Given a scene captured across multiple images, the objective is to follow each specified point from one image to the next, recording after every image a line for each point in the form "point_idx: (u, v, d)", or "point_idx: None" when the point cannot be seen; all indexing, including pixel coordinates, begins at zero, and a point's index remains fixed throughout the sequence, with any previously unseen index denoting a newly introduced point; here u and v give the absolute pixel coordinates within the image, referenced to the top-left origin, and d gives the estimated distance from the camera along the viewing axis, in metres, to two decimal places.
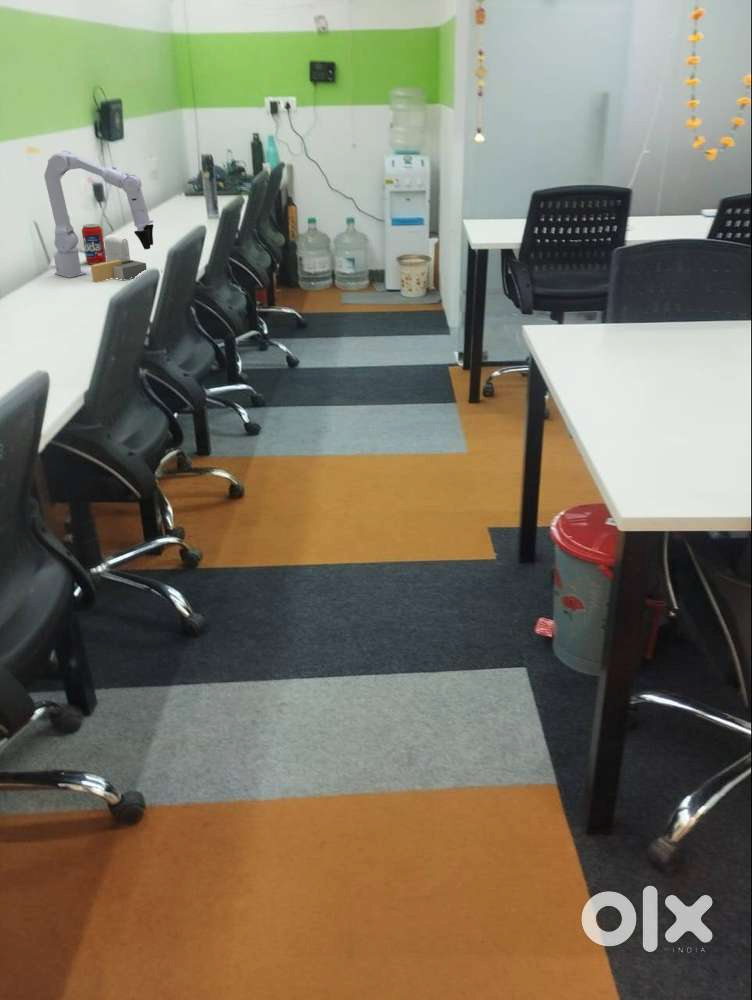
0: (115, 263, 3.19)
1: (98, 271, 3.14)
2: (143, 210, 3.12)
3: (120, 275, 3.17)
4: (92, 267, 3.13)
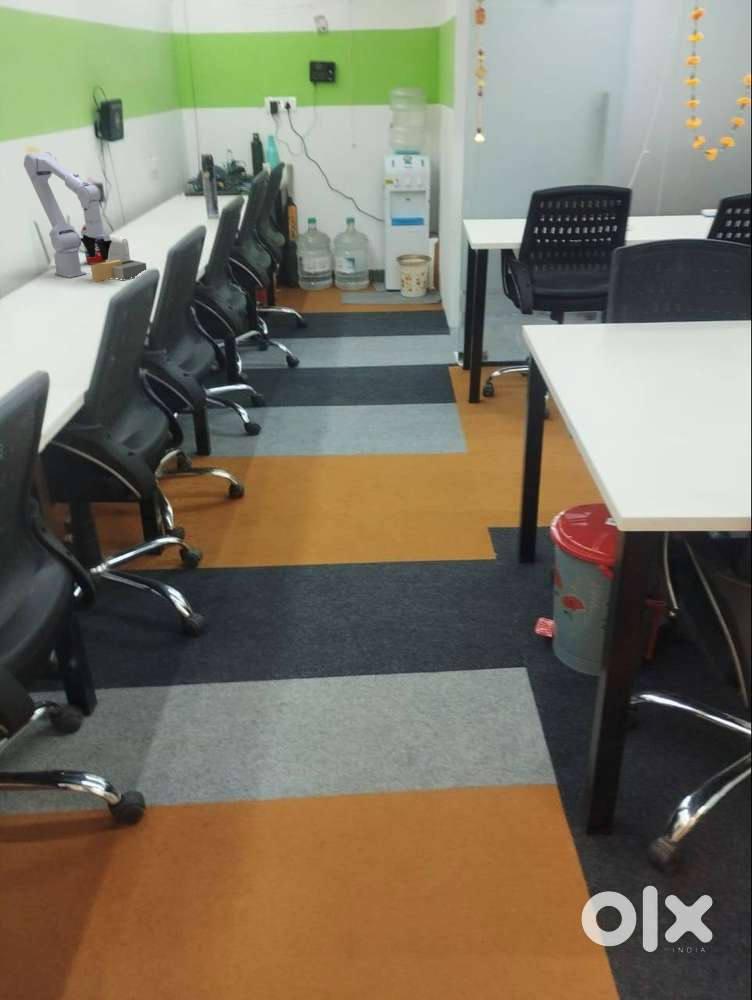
0: (115, 263, 3.19)
1: (98, 271, 3.14)
2: None
3: (120, 275, 3.17)
4: (92, 267, 3.13)
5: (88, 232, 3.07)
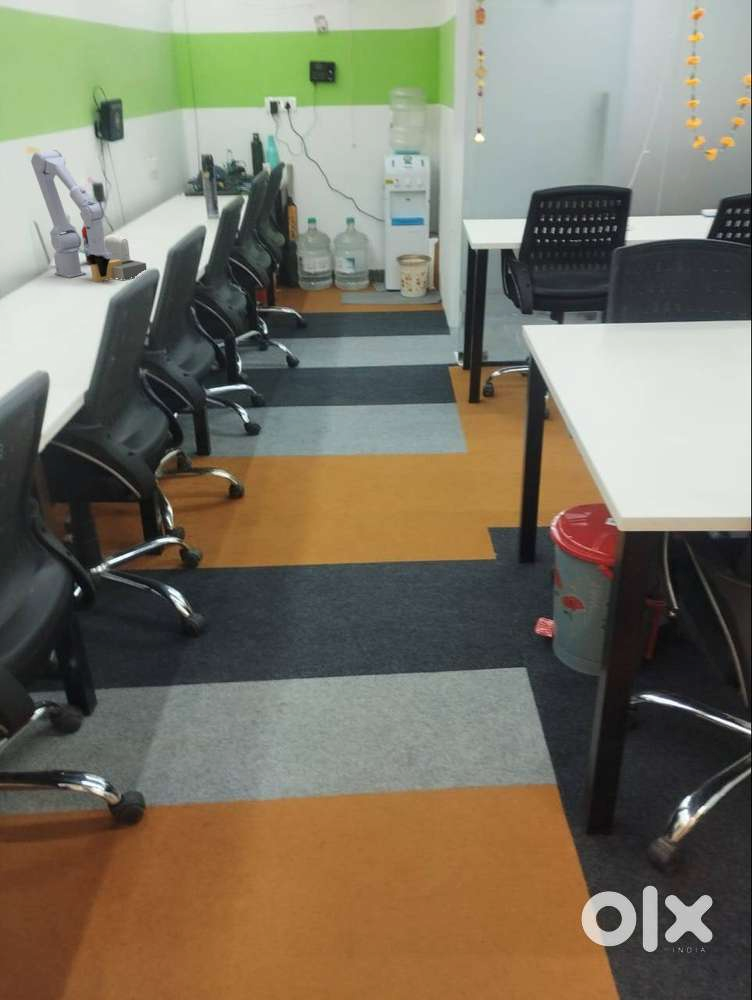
0: (115, 262, 3.19)
1: (98, 271, 3.14)
2: (103, 238, 3.11)
3: (120, 275, 3.17)
4: (92, 267, 3.13)
5: (91, 250, 3.10)
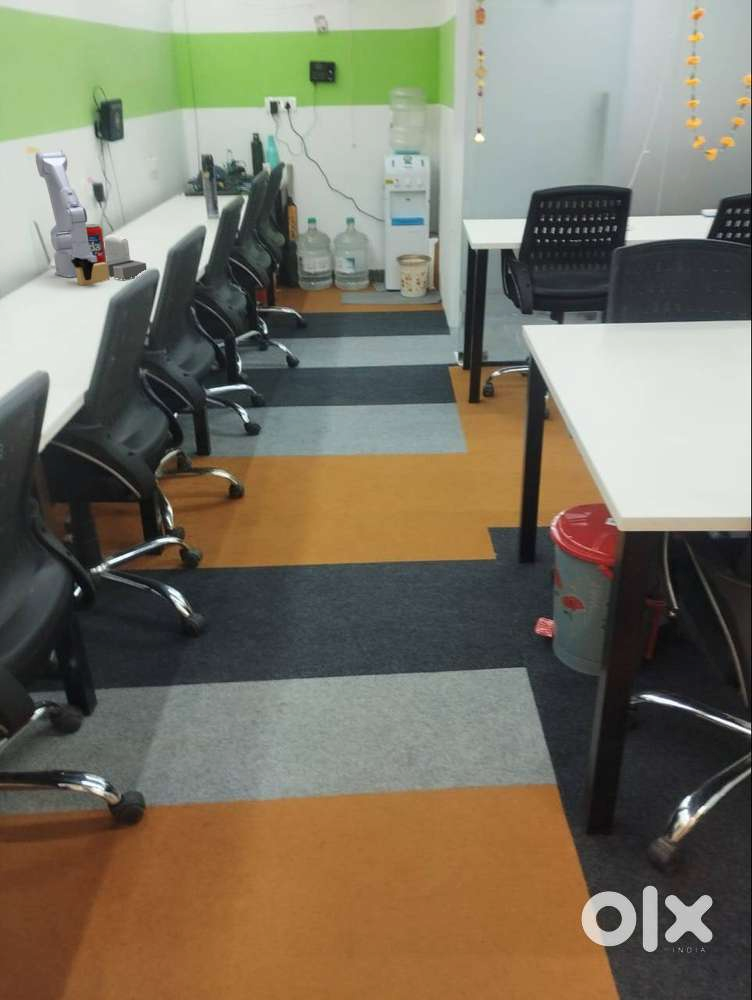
0: (101, 265, 3.14)
1: (83, 274, 3.09)
2: None
3: (120, 275, 3.17)
4: (77, 270, 3.08)
5: (75, 253, 3.05)
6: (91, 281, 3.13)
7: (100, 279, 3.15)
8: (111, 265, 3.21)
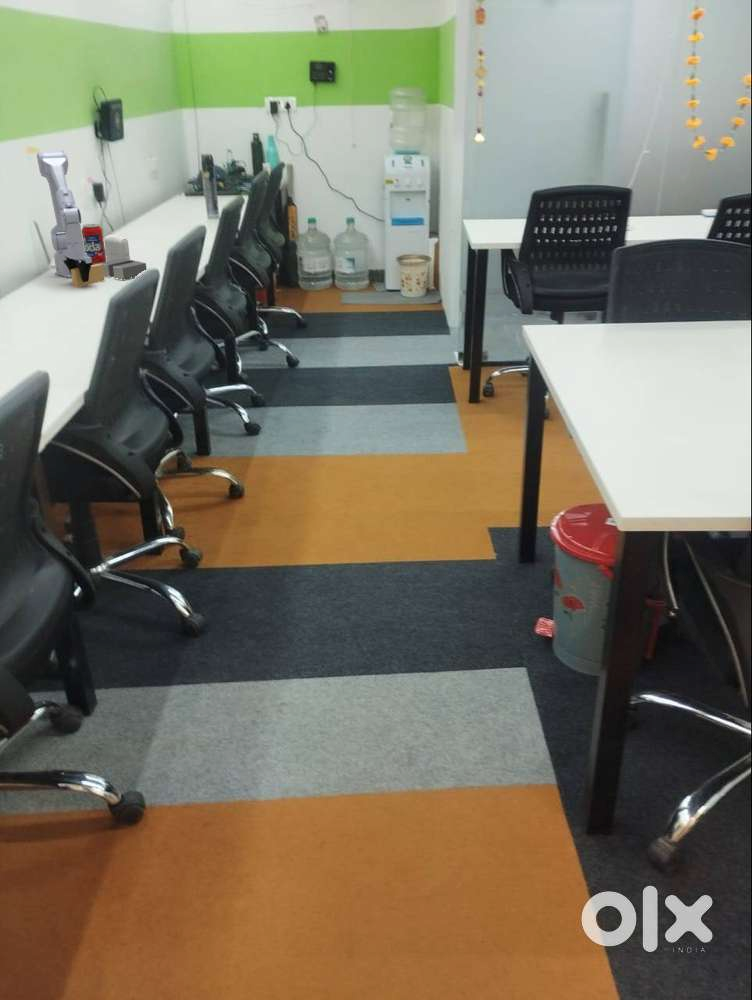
0: (96, 267, 3.13)
1: (78, 275, 3.08)
2: (82, 242, 3.04)
3: (120, 275, 3.17)
4: (72, 271, 3.07)
5: (70, 254, 3.04)
6: (86, 283, 3.11)
7: (95, 281, 3.14)
8: (111, 265, 3.21)
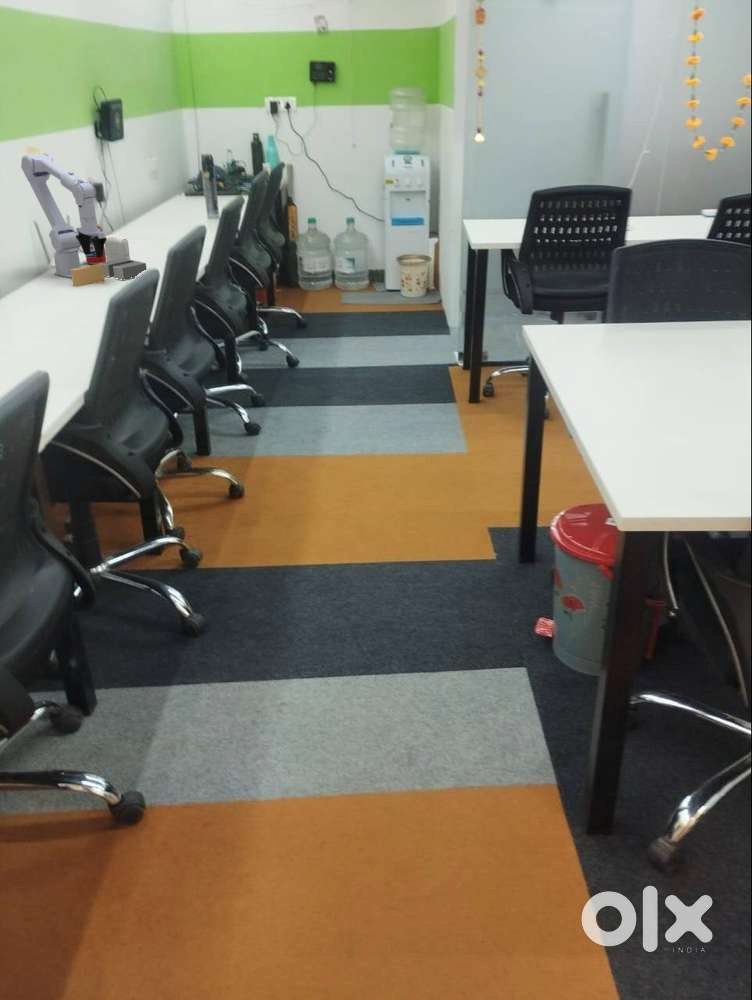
0: (96, 267, 3.13)
1: (78, 275, 3.08)
2: (95, 218, 3.07)
3: (120, 275, 3.17)
4: (72, 271, 3.07)
5: (83, 229, 3.07)
6: (86, 283, 3.11)
7: (95, 281, 3.14)
8: (111, 265, 3.21)
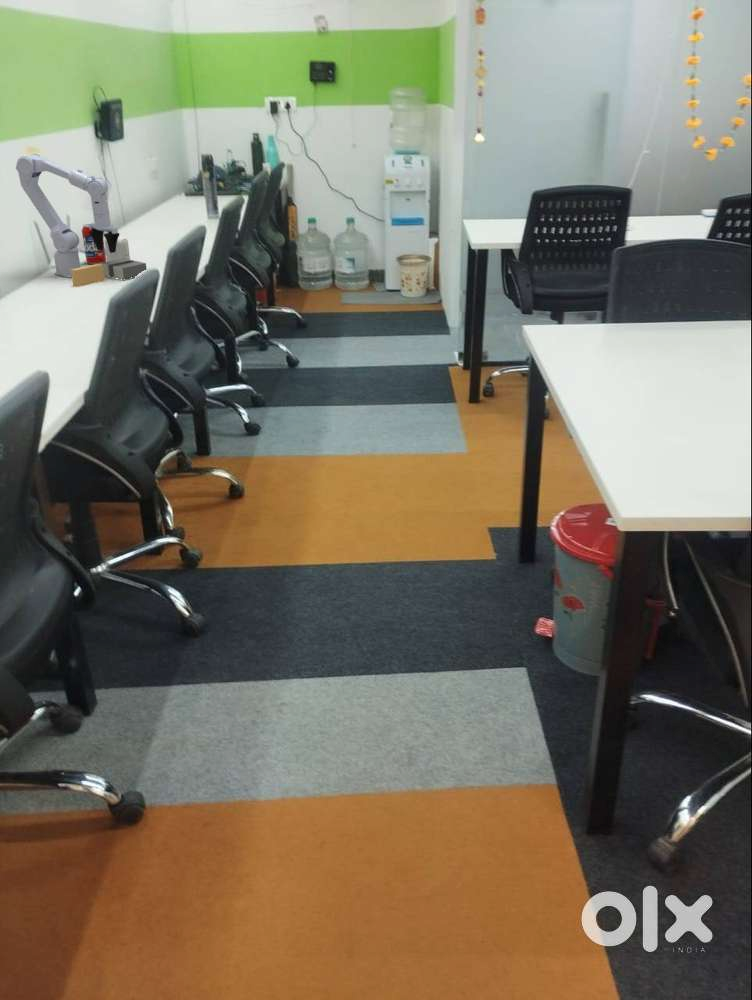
0: (96, 267, 3.13)
1: (78, 275, 3.08)
2: None
3: (120, 275, 3.17)
4: (72, 271, 3.07)
5: (96, 225, 3.12)
6: (86, 283, 3.11)
7: (95, 281, 3.14)
8: (111, 265, 3.21)
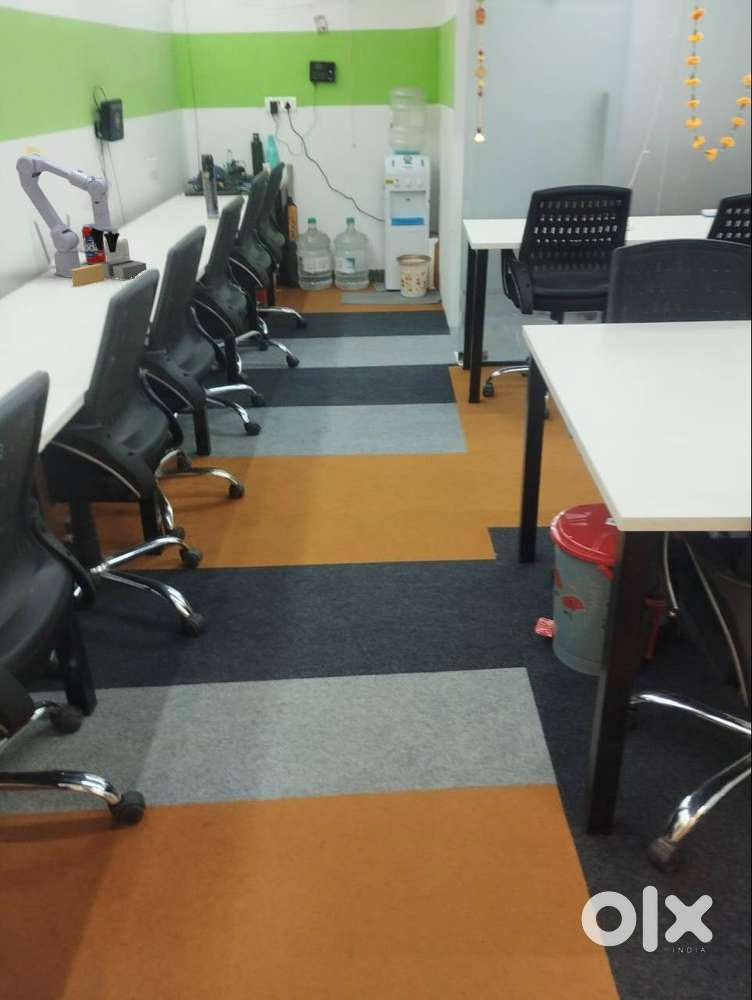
0: (96, 267, 3.13)
1: (78, 275, 3.08)
2: None
3: (120, 275, 3.17)
4: (72, 271, 3.07)
5: (96, 225, 3.12)
6: (86, 283, 3.11)
7: (95, 281, 3.14)
8: (111, 265, 3.21)
